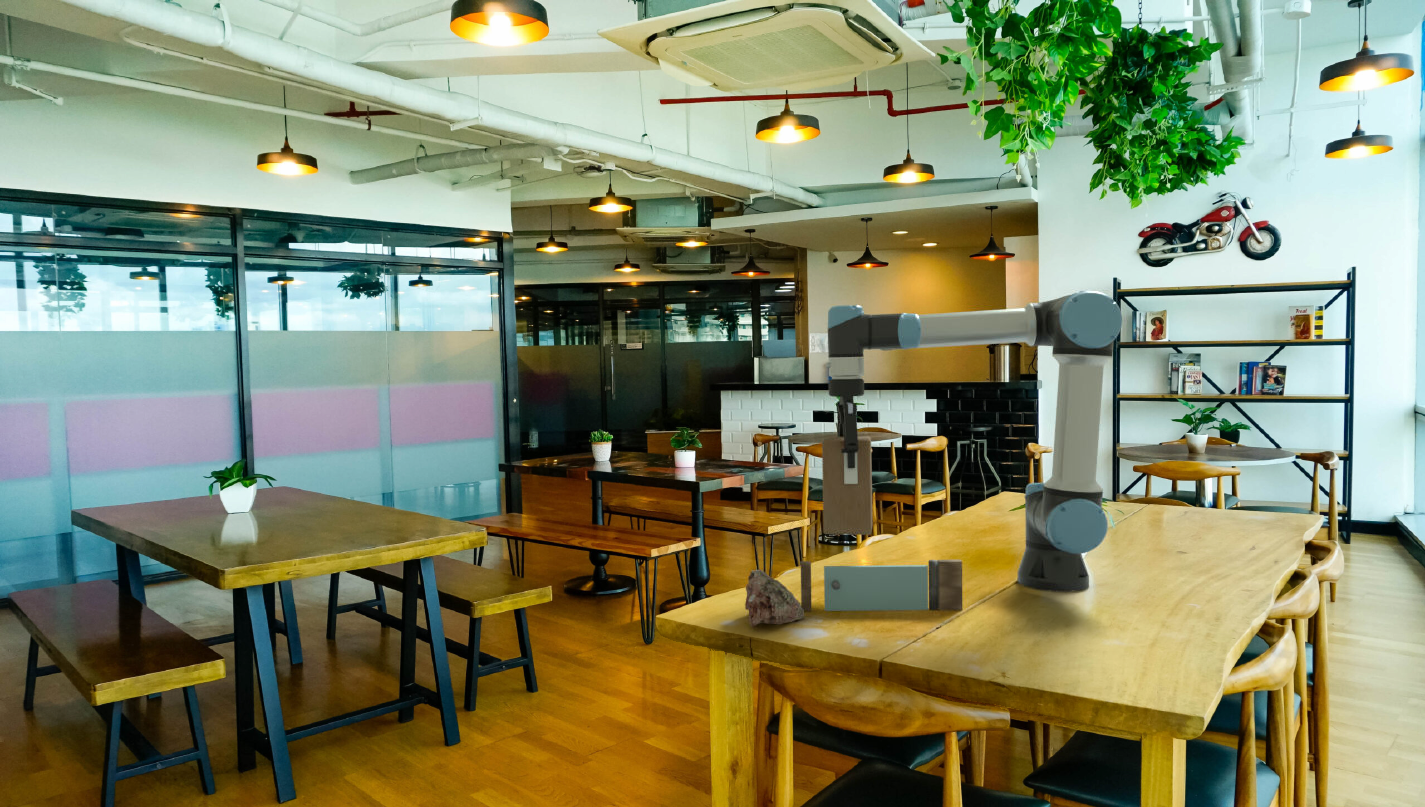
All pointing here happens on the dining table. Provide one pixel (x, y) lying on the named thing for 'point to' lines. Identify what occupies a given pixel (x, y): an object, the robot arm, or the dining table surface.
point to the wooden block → (846, 489)
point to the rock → (770, 601)
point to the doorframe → (941, 585)
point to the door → (876, 587)
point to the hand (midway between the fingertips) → (847, 480)
